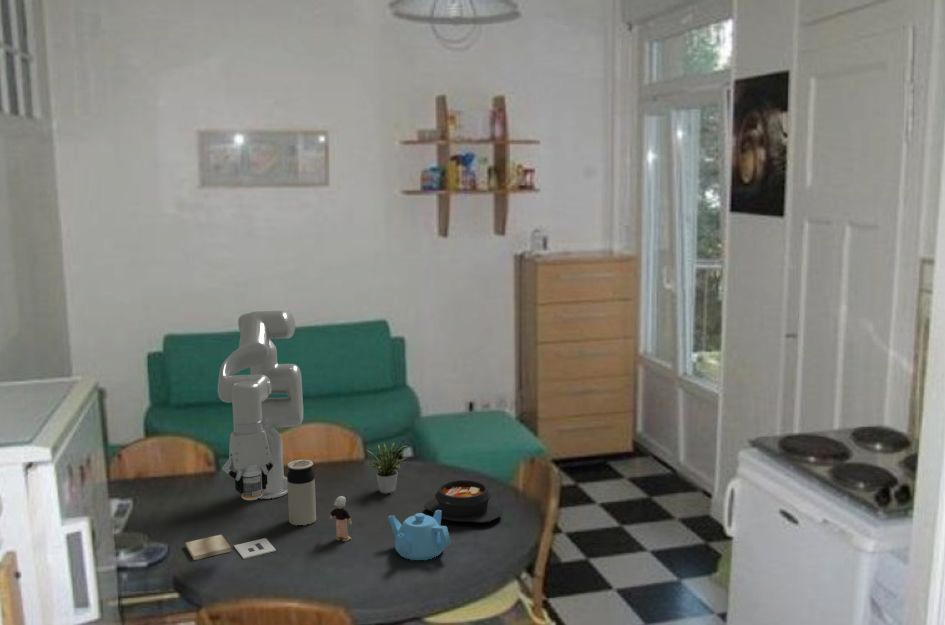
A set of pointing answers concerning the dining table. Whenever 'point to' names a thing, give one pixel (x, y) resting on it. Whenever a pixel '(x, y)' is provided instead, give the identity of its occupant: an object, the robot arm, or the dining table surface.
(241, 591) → the dining table surface
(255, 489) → the pill bottle
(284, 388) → the robot arm
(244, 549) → the tile
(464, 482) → the casserole
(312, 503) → the travel mug
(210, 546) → the coaster
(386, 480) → the house plant
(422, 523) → the teapot
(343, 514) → the grandmother figurine
